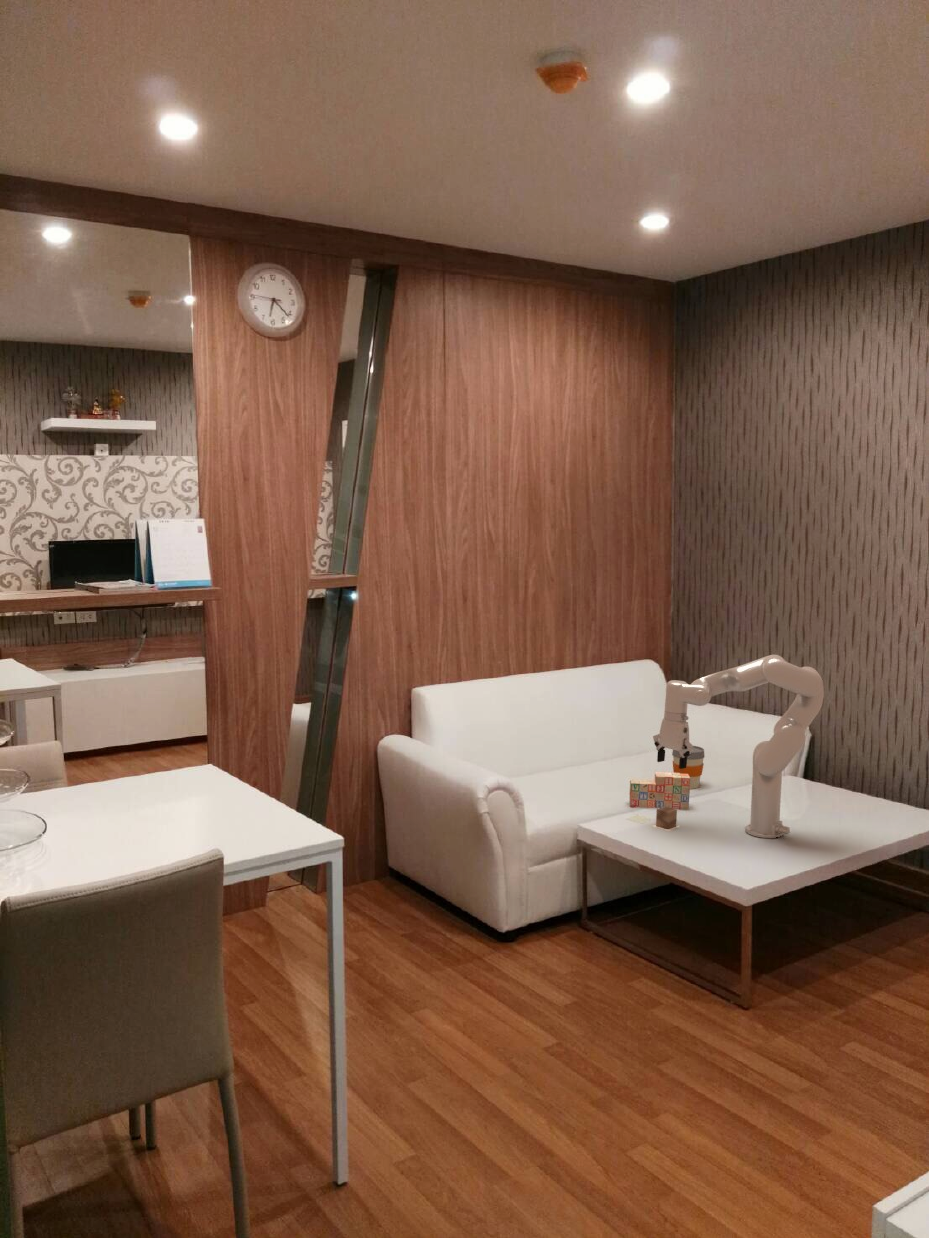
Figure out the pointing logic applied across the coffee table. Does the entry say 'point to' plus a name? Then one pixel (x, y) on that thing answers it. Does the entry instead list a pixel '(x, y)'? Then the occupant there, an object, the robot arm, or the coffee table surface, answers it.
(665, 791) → the stack of blocks
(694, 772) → the reusable coffee cup
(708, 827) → the coffee table surface
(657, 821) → the walnut block
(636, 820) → the mat
